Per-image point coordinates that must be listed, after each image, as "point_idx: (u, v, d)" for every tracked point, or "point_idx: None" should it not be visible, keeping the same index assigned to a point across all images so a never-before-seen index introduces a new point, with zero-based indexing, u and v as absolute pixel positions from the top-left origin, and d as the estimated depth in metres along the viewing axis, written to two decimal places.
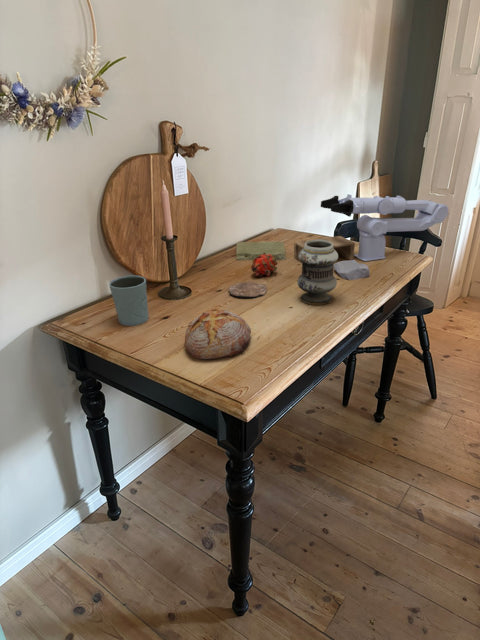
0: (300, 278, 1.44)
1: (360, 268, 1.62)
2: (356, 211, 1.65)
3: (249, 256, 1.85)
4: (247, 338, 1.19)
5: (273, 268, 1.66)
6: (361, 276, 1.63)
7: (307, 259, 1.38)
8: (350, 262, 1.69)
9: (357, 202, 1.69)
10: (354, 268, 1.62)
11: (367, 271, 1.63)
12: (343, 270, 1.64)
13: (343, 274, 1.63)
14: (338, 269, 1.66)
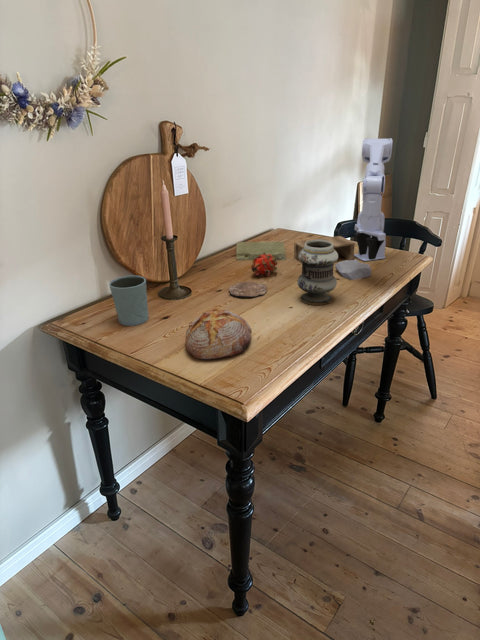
0: (300, 278, 1.44)
1: (362, 268, 1.62)
2: (384, 237, 1.45)
3: (249, 256, 1.85)
4: (248, 338, 1.19)
5: (273, 268, 1.66)
6: (363, 276, 1.63)
7: (307, 259, 1.38)
8: (352, 262, 1.69)
9: (370, 225, 1.47)
10: (356, 268, 1.62)
11: (369, 270, 1.63)
12: (345, 270, 1.64)
13: (345, 274, 1.63)
14: (340, 269, 1.66)
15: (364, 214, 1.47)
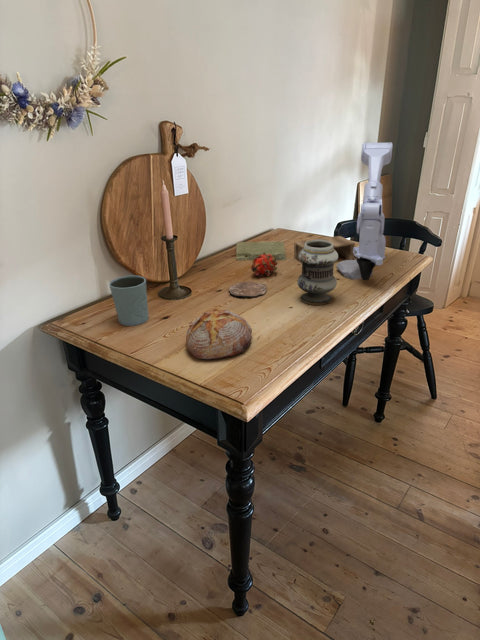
0: (300, 278, 1.44)
1: None
2: (381, 262, 1.48)
3: (249, 256, 1.85)
4: (248, 338, 1.19)
5: (273, 268, 1.66)
6: None
7: (307, 259, 1.38)
8: (353, 261, 1.69)
9: (367, 249, 1.51)
10: (358, 267, 1.63)
11: None
12: (346, 269, 1.64)
13: (347, 273, 1.63)
14: (341, 268, 1.66)
15: (362, 239, 1.50)
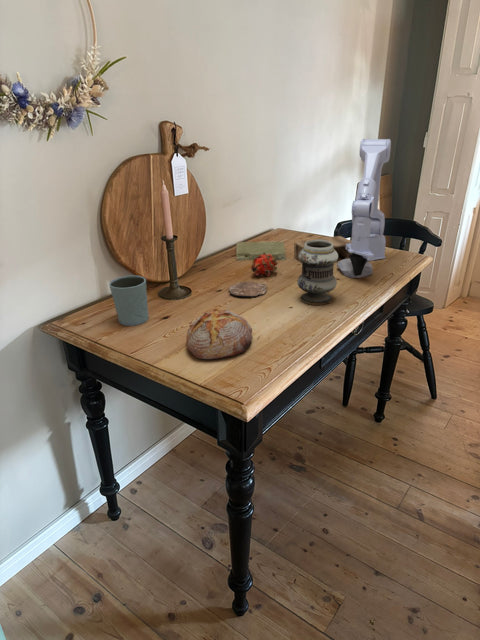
0: (300, 278, 1.44)
1: None
2: (373, 258, 1.52)
3: (249, 256, 1.85)
4: (249, 338, 1.19)
5: (273, 268, 1.66)
6: (364, 274, 1.64)
7: (307, 259, 1.38)
8: None
9: (359, 245, 1.55)
10: None
11: (370, 269, 1.64)
12: (346, 268, 1.65)
13: (346, 272, 1.64)
14: (341, 267, 1.67)
15: (353, 235, 1.55)
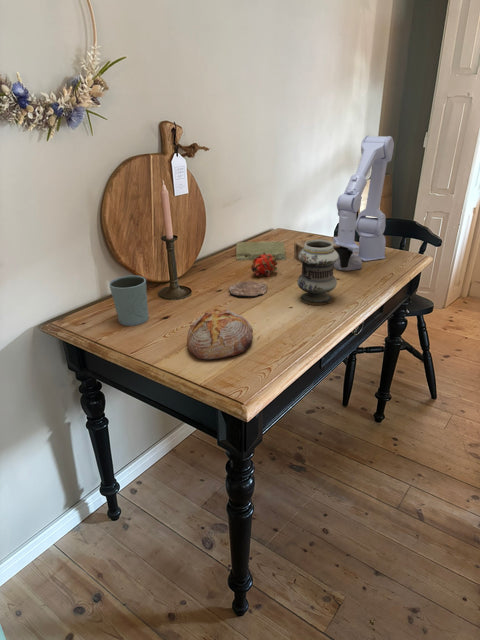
0: (300, 278, 1.44)
1: (352, 259, 1.69)
2: (358, 250, 1.59)
3: (249, 256, 1.85)
4: (249, 338, 1.19)
5: (273, 268, 1.66)
6: (353, 267, 1.70)
7: (307, 259, 1.38)
8: None
9: (345, 238, 1.62)
10: None
11: (359, 263, 1.69)
12: None
13: (335, 264, 1.71)
14: None
15: (339, 228, 1.63)
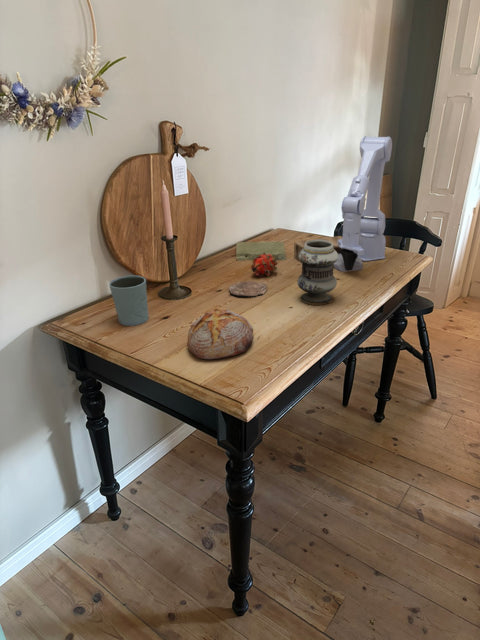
0: (300, 278, 1.44)
1: None
2: (363, 253, 1.57)
3: (249, 256, 1.85)
4: (250, 338, 1.19)
5: (273, 268, 1.66)
6: (353, 268, 1.70)
7: (307, 259, 1.38)
8: None
9: (350, 241, 1.60)
10: None
11: (360, 264, 1.70)
12: (337, 262, 1.72)
13: (336, 265, 1.71)
14: None
15: (343, 231, 1.60)
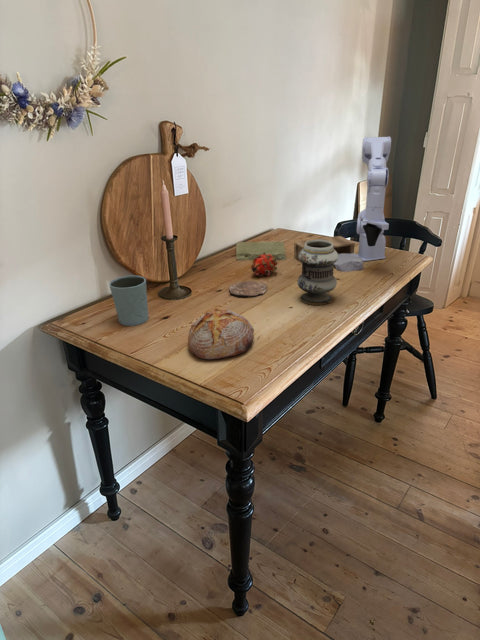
0: (300, 278, 1.44)
1: (353, 261, 1.69)
2: (387, 227, 1.54)
3: (249, 256, 1.85)
4: (250, 338, 1.19)
5: (273, 268, 1.66)
6: (354, 268, 1.70)
7: (307, 259, 1.38)
8: (348, 255, 1.76)
9: (374, 215, 1.56)
10: (348, 260, 1.70)
11: (361, 264, 1.69)
12: (338, 262, 1.72)
13: (337, 265, 1.71)
14: None
15: (369, 205, 1.56)
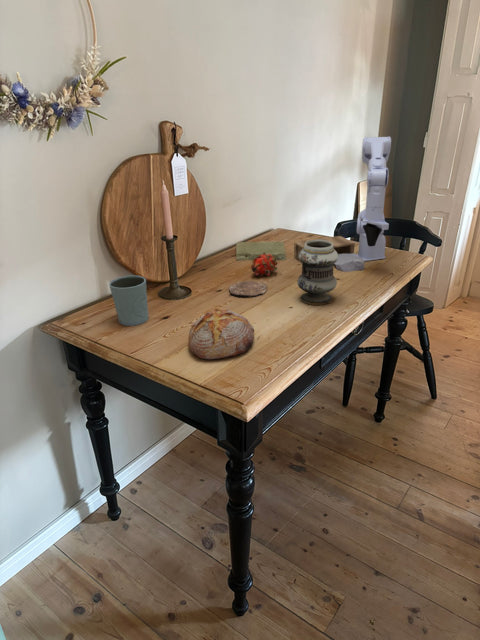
0: (300, 278, 1.44)
1: (355, 261, 1.69)
2: (387, 227, 1.54)
3: (249, 256, 1.85)
4: (251, 338, 1.19)
5: (273, 268, 1.66)
6: (355, 269, 1.70)
7: (307, 259, 1.38)
8: (349, 255, 1.76)
9: (374, 215, 1.56)
10: (349, 260, 1.70)
11: (362, 264, 1.69)
12: (339, 262, 1.72)
13: (338, 266, 1.71)
14: None
15: (369, 205, 1.56)
